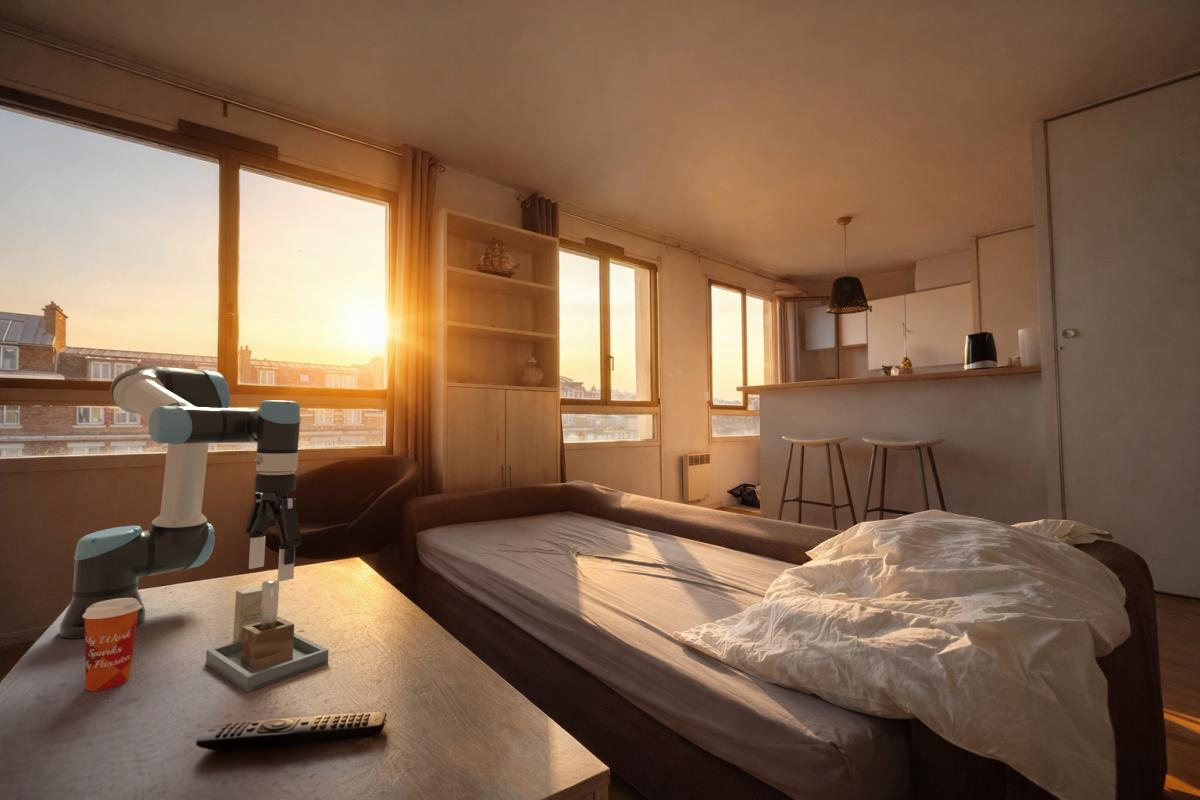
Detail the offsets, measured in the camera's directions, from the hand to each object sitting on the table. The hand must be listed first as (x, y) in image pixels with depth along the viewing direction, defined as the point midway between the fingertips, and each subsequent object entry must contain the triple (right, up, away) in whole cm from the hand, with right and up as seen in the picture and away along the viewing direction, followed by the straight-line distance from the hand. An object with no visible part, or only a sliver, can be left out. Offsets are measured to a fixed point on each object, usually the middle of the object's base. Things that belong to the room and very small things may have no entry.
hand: (270, 573), depth 109 cm
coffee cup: (-24, -18, -10) cm, 32 cm away
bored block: (0, -18, -1) cm, 18 cm away
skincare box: (-10, -19, +9) cm, 23 cm away
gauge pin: (0, -16, -1) cm, 16 cm away
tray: (0, -18, -1) cm, 18 cm away
